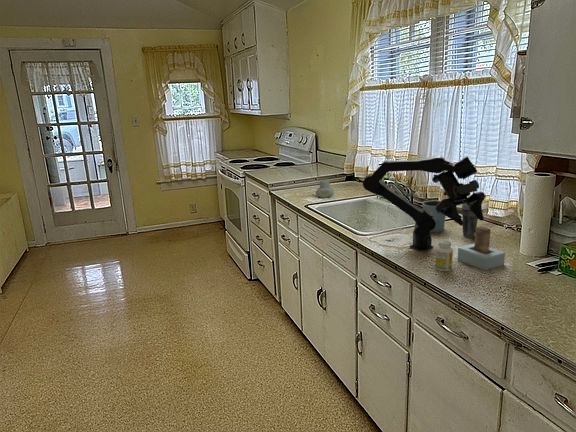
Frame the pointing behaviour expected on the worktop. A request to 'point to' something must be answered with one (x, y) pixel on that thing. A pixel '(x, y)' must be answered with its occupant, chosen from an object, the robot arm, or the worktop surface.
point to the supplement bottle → (444, 256)
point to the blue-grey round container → (439, 217)
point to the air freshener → (324, 189)
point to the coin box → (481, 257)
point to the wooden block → (482, 240)
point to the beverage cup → (468, 221)
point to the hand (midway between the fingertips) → (472, 222)
